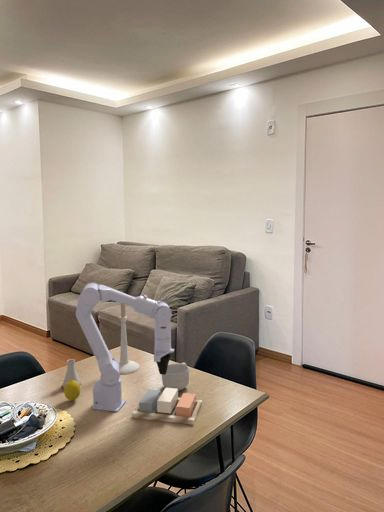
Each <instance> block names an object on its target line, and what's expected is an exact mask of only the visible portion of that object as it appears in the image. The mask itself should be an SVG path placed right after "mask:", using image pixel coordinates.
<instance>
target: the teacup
mask: <svg viewBox="0 0 384 512" xmlns="http://www.w3.org/2000/svg"><path fill="white" fill-rule="evenodd" d="M189 370H190V367H189V366H188V365H187V363H186V362H181V363H171V364H169V363H168V368H167V372H166V374H165V375H162V374H161V382H162V386H163V387H164V388H175V389H178V392H179V391H182V390H184V389H185V388H186V387H187V386H189V383H190V371H189Z"/></svg>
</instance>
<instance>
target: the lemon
mask: <svg viewBox="0 0 384 512" xmlns="http://www.w3.org/2000/svg"><path fill="white" fill-rule="evenodd" d="M80 395H81V385H79V383H78V382H77V381H74V380H71V381H69V382H68V383H67V384H66V385H65V388H64V396H65V398H66V400H69V401H71V402H74V401H75V400H77V399H78V398H79V397H80Z"/></svg>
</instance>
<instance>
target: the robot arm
mask: <svg viewBox="0 0 384 512" xmlns="http://www.w3.org/2000/svg"><path fill="white" fill-rule="evenodd" d="M100 300H101V304H103V303H105V302H109V301H113V302H117V303H119V304H121V303H122V304H125V306H129V307H131V308H133V311H134V312H136V313H139V314H142V315H144V316H147V317H151V318H154V349H153V352H154V355H153V362H154V363H156V365H157V369H158V371H159V375H161V376H162V375H165V374H166V372H167V368H168V365H169V363H170V359H171V357H172V355H173V353H174V352H175V348H172V333H171V331H172V329H171V327H172V325H171V318H172V317H173V313H172V310H171V308H170V306H169V305H168V304H167V303H166V302H164V301H161V300H154V299H152V298H150V297H149V298H148V295H146V294H144V295H143V296H142V295H139V296H136V297H135V296H133V295H130V294H127V293H125V292H123V291H119V290H117V289H115V288H112V287H110V286H108V285H104V284H98V283H96V282H89V283H87V284H85V285H84V286H83V288H82V290H81V292H80V294H79V296H78V299H77V304H76V310H75V318H76V319H77V322H78V323H79V326H80V328H81V330H82V332H83V335H84V336H85V338H86V340H87V342H88V345H89V347H90V349H91V350H92V352H93V356H94V357H95V360H96V362H97V366H98V369H99V372H100V379H96V380H95V382H94V384H93V388H92V400H93V401H92V405H93V406H92V409H93V410H99V411H109V412H116V413H117V412H119V411H120V409H121V408H122V407H123V405H124V404H125V403H126V401H127V400H126V399H123V397H122V396H123V395H122V393H123V392H122V391H123V390H122V378H121V377H120V375H121V374H119V369H120V364H119V362H118V361H119V360H117V359H116V358H115V357H114V355H113V354H112V353H111V352H110V350H109V348H108V346H107V344H106V342H105V340H104V338H103V336H102V334H101V333H102V332H101V331H100V329H99V327H98V325H97V323H96V321H95V318H94V317H93V315H92V312H93V311H94V308H95V307H96V306H97V305H98V304H99V303H100Z"/></svg>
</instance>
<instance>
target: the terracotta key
mask: <svg viewBox="0 0 384 512" xmlns="http://www.w3.org/2000/svg"><path fill="white" fill-rule="evenodd" d="M180 398H181V399H180V400H179V402H178V404H177V403H176V404H177V405H175V409H176V416H182V417H192V414H193V412H194V410H195V408H196V400H197V394H196V393H188V392H183V393H182V395H181V397H180Z"/></svg>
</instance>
